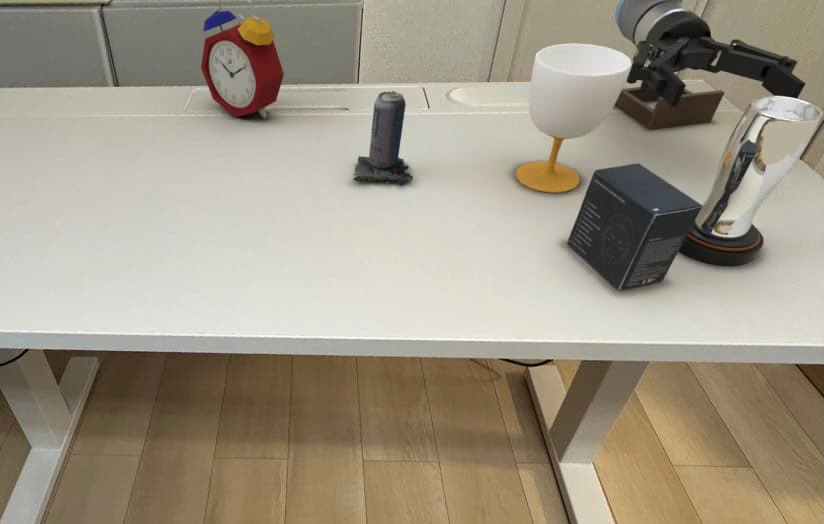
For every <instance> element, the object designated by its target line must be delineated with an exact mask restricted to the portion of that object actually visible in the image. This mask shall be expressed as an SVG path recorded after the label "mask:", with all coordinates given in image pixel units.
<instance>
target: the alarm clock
mask: <svg viewBox="0 0 824 524" xmlns="http://www.w3.org/2000/svg"><path fill="white" fill-rule="evenodd" d="M244 1H245V2H247V3H249V4H250V11H251V16H248V17H247V18H245V17H244V15H243V14H242V12H239V13H238V16H239V17H240V19H239V20H238V22H237V23H236V24H237V25H234V26H233V27H230V28H227V29H225V30H224V29H223V26H222V25H225V24H226V23H230V22H232V21H234V20H236V19H238V17H237V16H236V15H235V14H233V13H232V12H231V10H222V0H218V7H217V8H216V7H213V8H212V9H213V11H212V12H213V13H212V14H211V15H210V16H208V17H207V18H206V19H204V23H203V24H204V25H203V30H202V31H203V32H207V31H209V30H212V29H215V28H217V27H219V28H220V32H218V33H216V34H213V35H210V36H208V37H206V38H205V39H204V44H203V51H202V58H201V64H200V69H201V72H202V74H203V77H204V80H205V82H206V84H207V87H208V90H209V93H210V94H211V97H212V100H213V101H215V102H216V103H217V104H218V105H219V106H221V108H223V109H224V110H225V111H226V112H227V113H229V114H230V115H231V116H232V117H234V118H237V117H241V116H242V117H243V116H246V115H251V114H253V113H256V112H258V113H259V114H260V116H261V118H263V119H266V118H267V117H268V116H267V112H266V109H265V108H266V107H268V106H270V105H272V104H274V103H275V102H277V100H278V96H279V92H280V89H281V86H282V82H283V79H284V77H285V76H284V75H285V73H284V70H283V69H284V68H283V67H282V64H281V61H280V55H279V54H278V51H277V47H276V44H275V42H274V39H275V35H274V32H273V31H274V30H273V28H272V26H271V25H270V23H269V22H268V20H265V19H263V18H261V17H262V16H261V17H260V16H256V15H255V14H254V13H255V12H254V5H253V1H252V0H244ZM221 10H222V11H221ZM241 21H242V23H241Z"/></svg>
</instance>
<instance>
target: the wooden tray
mask: <svg viewBox="0 0 824 524" xmlns="http://www.w3.org/2000/svg"><path fill="white" fill-rule="evenodd" d="M724 95H725V91H724V90H721V89H717V90H709V91H701V92H693V91H690V90H688V89H687V88H685V89H684V91H683V93H682V96H681V98H680V100H679V103H678V105H677V107H670V106H669V105H668V104H667V102H666V101H665V100H664V99H663V98H662V97H661V96H660V95H659V94H658V92H657V91H654V90H652V89H651V88H650V89H649V91H642V90H640V86H636V87H628V88H622V90H621V92H620V94H619V97H618V99H617V101H616V103H615V105H614V106H616V107H618V108H619V109H620V110H622V111H623V112H624V113H626V114H627V115H629V116H630V117H631V118H633V119H634V120H635V121H637V122H639V123H640V124H641V125H643V126H644V127H646V128H647V129H649V130H658V129H664V128H665V129H667V128H672V127H681V126H682V127H683V126H689V125H698V124H706V123H711V122H712V120H713V118H714V116H715V114H716V112H717V109H718V108H719V105H720V103H721V101H722V99H723V97H724ZM650 102H656V103H655V105H654V108H653V107H651V106H649V104H647V103H650Z"/></svg>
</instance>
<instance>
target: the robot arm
mask: <svg viewBox="0 0 824 524" xmlns="http://www.w3.org/2000/svg"><path fill="white" fill-rule="evenodd" d="M683 1H684V0H619V2H618V3H617V6H616V8H615V14H614V19H615V24H616V25H617V27H618V29H619V31H620V34H621V35H622V36H623V38H625V39H627V40H628V41H630V42H631V43H632V44H633V45H634V46H635V47H636V49H635V51H634V54H633V57H632V63H631V65H632V67H631V69H630V72H629V74H628V77H627V79H626V81H625V83H627V84H630V85H631V84H636V83H637V81H641V84H640V86H639V87H640V90H642V91H649V89H650V88H651V89H652V90H654V91H657V92H658V94H659V95H660V96H661V97H662V98H663V99H664V100H665V101H666V102H667V104H668V105H669V106H670V107H677V105H678V103H679V100H680V98H681V96H682V93H683V91H684V89H686V87H687V84H686V83H685V82H684V81H683V80H682V79H681V78H680V77H679V76H678V75H677V74H676V73H678V72H681V71H684V70H687V69H689V70H694V71H698V70H701V71H705V72H708V73H713V74H717V73H720V72H724V73H728V74H732V75H735V76H739V77H743V78H746V79H749V80H754V81H758V82H761V84H760V85H761V87H762V88H763V89H765V90H766V91H768V92H769V93H770V94H771V95H772V96H785V97H792V98H796V99H799V96H800V95H801V93H802V91H803V90H804V88H805V86H806V84H807V83H806V82H805V81H803V80H802V79H800V78H799V77H798V76H797V75H795V74H793V71H794V70H795V68H796V66H797V64H798V60H796V59H793V58H789V56H788V55H785V56H783V55H781V54H778V53H775V52H771V51H769V50H765V49H762V48H759V47H756V46H753V45H750V44H747V43H746V42H744V41H743V40H741V39H737V38H736V39H732V40H731V42H730V44H729V43H724V42H719V41H716V40H715V39H714V38H712V32H711V28H710V25H709V24H708V23H707V22H706V21H705V20H704V19H703V18H702V17H701V16H698V15H697V13H695V12H694V11H692V10H691V9H690V8H688V7H687V6H685V5H684V4H683ZM716 59H717V61H716ZM648 61H649V62H650V63H648ZM715 61H716V63H715V65H714V64H713V63H714V62H715ZM647 63H648V65H647V66H645V64H647Z"/></svg>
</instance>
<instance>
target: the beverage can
mask: <svg viewBox="0 0 824 524" xmlns="http://www.w3.org/2000/svg"><path fill="white" fill-rule="evenodd" d="M406 105H407V104H406V100H405V98H404V95H403V93H400V92H397V91H394V90H392V91H383V92H381V93H379V94H378V95H377V97H376V99H375V100H374V105H373V113H372V124H371V125H372V126H371V134H370V144H369V153H368V156H358V158H357V164H355V165H354V166H355V168H354V173H353V178H352V179H353V180H354V181H356V182H357V183H362V182H364V183H367V181H375V180H378V182H380V181H382V183H388V184H389V183H390V181H392V182H393V183H395V182H396V183H397V184H398V185H403V184H405V183H408V180H407V179H409V181H414V179H413V178H414V175H411V173H409V172H406V171H408V170H409V169H411V167H410V166H409V165H407V164H406V163H405V159H404V158H401V157H399V155H400V146H401V140H402V134H403V126H404V121H405V112H406Z"/></svg>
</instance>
